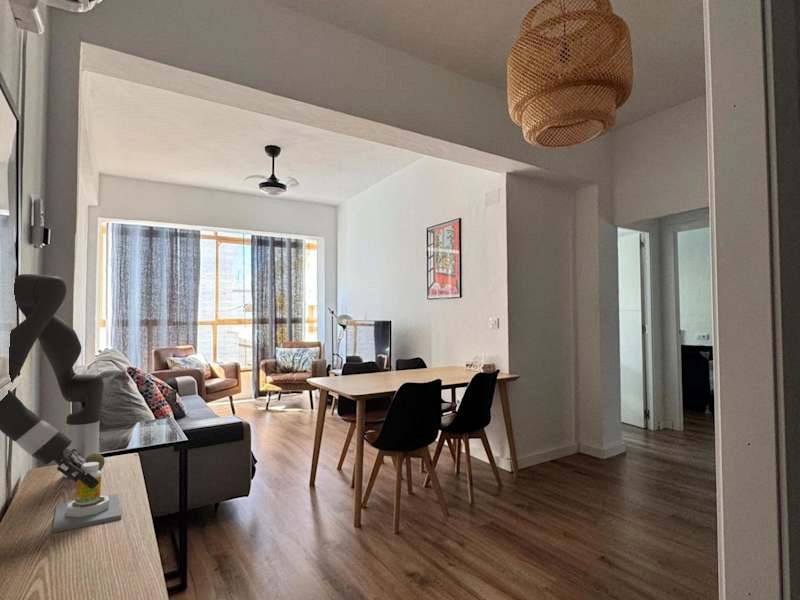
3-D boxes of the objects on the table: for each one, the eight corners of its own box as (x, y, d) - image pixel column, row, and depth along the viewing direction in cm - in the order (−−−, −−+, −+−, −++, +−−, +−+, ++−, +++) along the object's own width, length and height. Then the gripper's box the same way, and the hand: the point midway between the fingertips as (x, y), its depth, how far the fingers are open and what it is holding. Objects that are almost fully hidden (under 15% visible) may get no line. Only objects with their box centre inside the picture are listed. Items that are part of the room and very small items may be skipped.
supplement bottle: (79, 507, 112) (81, 468, 113) (71, 501, 116) (74, 464, 116) (103, 500, 117) (105, 463, 117) (95, 496, 120) (97, 459, 121)
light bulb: (77, 487, 134) (79, 454, 135) (97, 482, 139) (98, 450, 140) (87, 491, 132) (89, 457, 133) (107, 485, 137) (108, 452, 137)
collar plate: (56, 508, 119) (57, 496, 119) (117, 497, 127) (117, 486, 128) (52, 533, 105) (53, 520, 105) (121, 518, 113) (121, 506, 113)
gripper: (52, 436, 108) (107, 478, 113) (62, 425, 120) (111, 463, 125) (23, 461, 105) (81, 503, 110) (36, 447, 117) (88, 485, 122)
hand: (97, 482), depth 117 cm, fingers closed on supplement bottle, 5 cm apart
